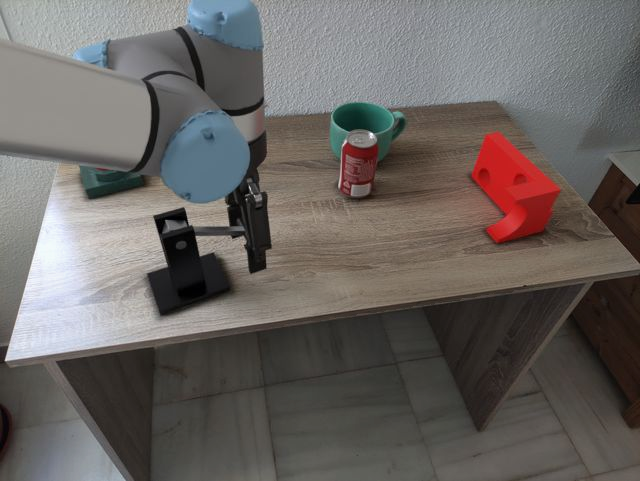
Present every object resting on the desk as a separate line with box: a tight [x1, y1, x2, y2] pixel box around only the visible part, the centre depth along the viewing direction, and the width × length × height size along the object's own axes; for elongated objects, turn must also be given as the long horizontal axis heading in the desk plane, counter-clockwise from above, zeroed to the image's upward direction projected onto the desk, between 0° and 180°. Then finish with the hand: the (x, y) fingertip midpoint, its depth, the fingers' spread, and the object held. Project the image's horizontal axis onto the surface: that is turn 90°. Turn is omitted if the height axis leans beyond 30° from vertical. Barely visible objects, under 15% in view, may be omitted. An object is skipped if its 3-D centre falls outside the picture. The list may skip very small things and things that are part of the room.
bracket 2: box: [471, 131, 562, 244], centre depth 87 cm, size 18×10×10 cm
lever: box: [162, 217, 248, 242], centre depth 69 cm, size 13×5×2 cm, turn 117°
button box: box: [78, 165, 144, 199], centre depth 90 cm, size 10×8×4 cm
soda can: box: [337, 130, 379, 199], centre depth 88 cm, size 7×7×12 cm
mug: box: [329, 101, 407, 163], centre depth 97 cm, size 17×13×10 cm
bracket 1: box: [146, 206, 231, 316], centre depth 69 cm, size 11×8×14 cm
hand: (248, 251), depth 76 cm, fingers open, 8 cm apart
